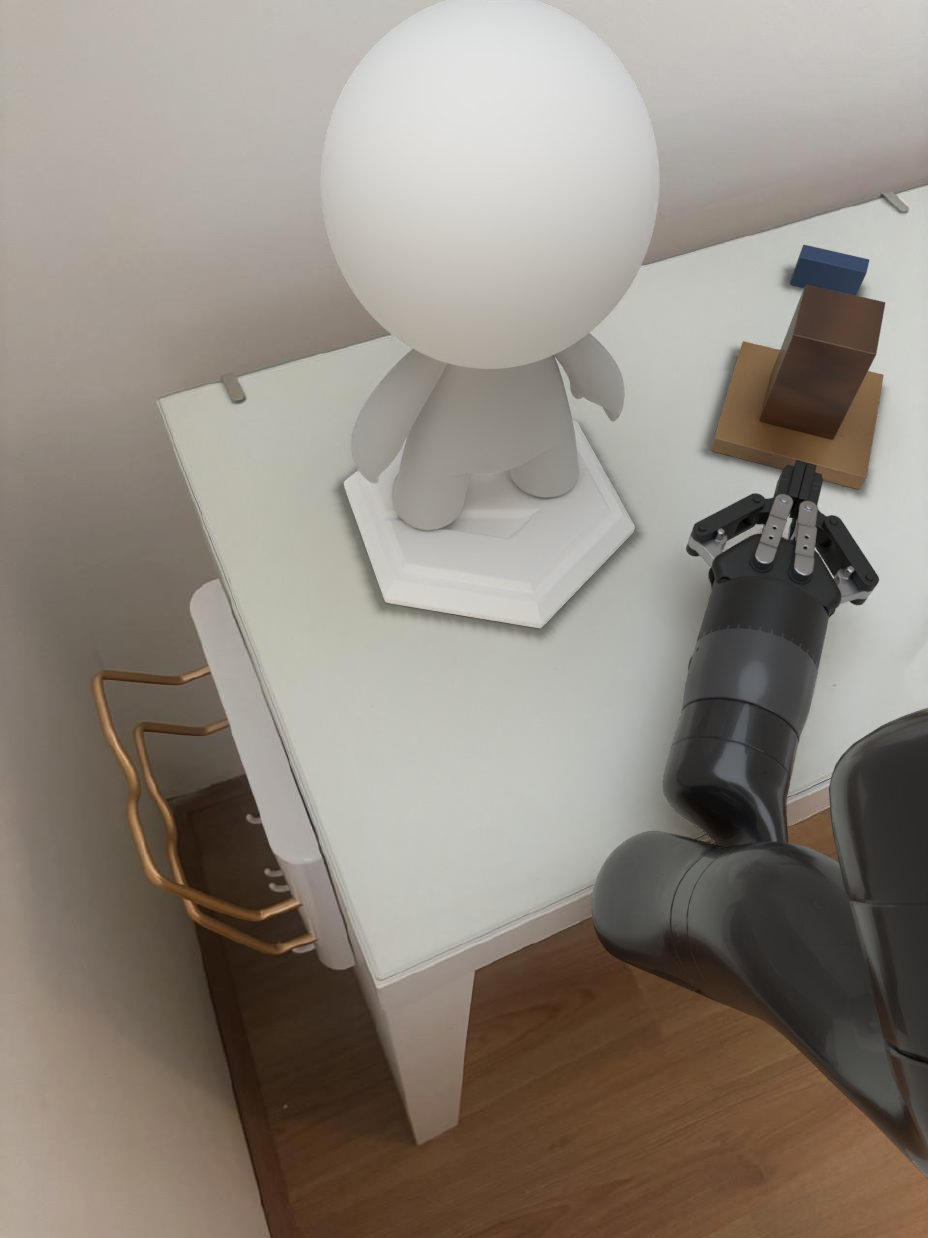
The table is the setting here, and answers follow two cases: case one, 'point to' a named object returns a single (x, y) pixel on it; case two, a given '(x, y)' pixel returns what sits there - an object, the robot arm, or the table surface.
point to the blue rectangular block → (829, 270)
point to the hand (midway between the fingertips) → (802, 469)
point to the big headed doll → (488, 297)
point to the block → (809, 391)
